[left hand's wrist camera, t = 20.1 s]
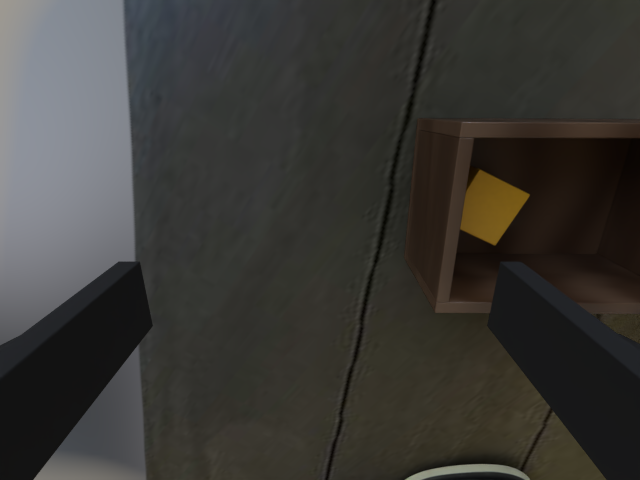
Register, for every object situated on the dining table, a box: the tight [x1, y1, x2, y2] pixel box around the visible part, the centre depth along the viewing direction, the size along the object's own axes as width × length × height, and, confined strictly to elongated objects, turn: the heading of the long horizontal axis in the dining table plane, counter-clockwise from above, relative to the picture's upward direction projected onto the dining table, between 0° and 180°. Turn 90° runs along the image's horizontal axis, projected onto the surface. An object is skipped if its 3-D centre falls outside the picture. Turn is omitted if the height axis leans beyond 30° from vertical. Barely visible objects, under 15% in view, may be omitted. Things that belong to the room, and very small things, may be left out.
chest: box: [404, 118, 640, 314], centre depth 24 cm, size 17×12×9 cm
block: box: [460, 166, 530, 245], centre depth 26 cm, size 4×4×4 cm
